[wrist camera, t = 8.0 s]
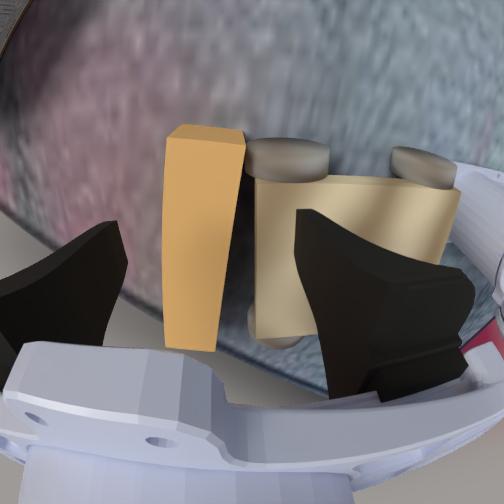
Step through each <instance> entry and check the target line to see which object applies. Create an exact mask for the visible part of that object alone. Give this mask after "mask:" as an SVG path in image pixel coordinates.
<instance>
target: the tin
mask: <svg viewBox="0 0 504 504" xmlns="http://www.w3.org/2000/svg"><path fill="white" fill-rule="evenodd" d="M31 2H32V0H0V59H1V57H2V55H3V52H4V50H5V48H6V46H7V44H8V42H9V40H10V38H11V36H12V34H13V33H14V31H15V29H16V27H17V25H18V23H19V22H20V20H21V18H22V17H23V15H24V13H25V12H26V10H27V8H28V7H29V5H30V4H31Z"/></svg>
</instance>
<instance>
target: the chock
mask: <svg viewBox="0 0 504 504" xmlns="http://www.w3.org/2000/svg"><path fill="white" fill-rule="evenodd" d="M245 149H246V144H245V139H244V135H243V131H241V130H234V129H226V128H217V127H208V126H198V125H187V124H181V125H180V126H179V127H178V128H177V129H176V130H175V131H174V132H172V133H171V134H170V135H169V136H168V137H167V144H166V156H165V171H164V189H163V216H162V286H163V313H164V331H165V345H166V347H170V348H179V349H188V350H199V351H210V352H215V347H216V340H217V332H218V325H219V317H220V310H221V303H222V296H223V289H224V282H225V275H226V268H227V261H228V255H229V248H230V241H231V235H232V228H233V222H234V216H235V209H236V203H237V197H238V191H239V184H240V178H241V172H242V166H243V160H244V155H245Z"/></svg>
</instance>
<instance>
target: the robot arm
mask: <svg viewBox="0 0 504 504" xmlns="http://www.w3.org/2000/svg"><path fill="white" fill-rule="evenodd" d="M451 162H453V163H455V164H456V165H457V167H458V168H457V173H456V178H455V182H454V187H455V188H457V189H458V190H460V191H461V196H460V200H459V203H458V207H457V211H456V214H455V217H454V221H453V224H452V227H451V231H450V234H449V237H448V240H447V243H454V244H455V245H456V246H457V247H458V248H459V249H460V250H461V251H462V252H463V254H464V255H465V256H466V257H467V258H468V259H469V260H470V261H471V262H472V263H473V264H474V265H475V266H476V267H477V268H478V269H479V271H480V272H481V273H482V274H483V275H484V276H485V277H486V278H487V280H488V281H489V282H490V283H491V284H492V285H493V286H494V288H495V290H494V292H493V294H492V297H493V299H494V300H495V301H496V302H497V304H498V306H497V308H496V312H495V317H496V321H497V325H498V329H499V332H500V334H501V336H502V338H503V339H504V173H503V172H501V171H497V170H493V169H489V168H484V167H480V166H475V165H470V164H465V163H460V162H455V161H451ZM294 258H295V263H296V267H297V272H298V275H299V278H300V281H301V283H302V286H303V289H304V292H305V294H306V297H307V300H308V302H309V305H310V308H311V311H312V313H313V316H314V320H315V323H316V327H317V331H318V336H319V341H320V345H321V350H322V356H323V361H324V366H325V373H326V379H327V386H328V393H329V400H327V401H320V402H313V403H306V404H299V405H290V406H281V407H269V406H256V405H244V404H234V403H228V402H227V400H226V396H225V390H224V385H223V383H222V382H221V381H220V379H219V378H218V376H217V375H216V374H215V372H214V371H213V369H212V368H211V367H209V366H207V365H205V364H204V363H201V362H199V361H197V360H195V359H193V358H191V357H189V356H187V355H185V354H183V353H177V352H172V351H166V350H160V349H154V348H128V347H107V346H102V345H103V340H104V335H105V331H106V328H107V324H108V321H109V319H110V316H111V313H112V311H113V308H114V305H115V303H116V300H117V298H118V295H119V292H120V290H121V287H122V284H123V282H124V278H125V274H126V269H127V265H128V260H127V256H126V253H125V249H124V246H123V242H122V239H121V235H120V231H119V227H118V223H117V220H116V221H106V222H102V223H100V224H98V225H96V226H94V227H92V228H91V229H89V230H87V231H86V232H84V233H83V234H81V235H80V236H78V237H77V238H75V239H74V240H72V241H71V242H69V243H68V244H66V245H64V246H63V247H61V248H60V249H58V250H57V251H55V252H54V253H52V254H51V255H49V256H47V257H46V258H44V259H42V260H40V261H39V262H37V263H35V264H33V265H31V266H30V267H28V268H26V269H23V270H21V271H19V272H17V273H15V274H13V275H11V276H9V277H6V278H4V279H1V280H0V453H1V454H3V455H4V456H6V457H8V458H10V459H12V460H14V461H16V462H18V463H20V464H22V465H24V466H25V468H24V473H23V478H22V484H21V489H20V495H19V502H18V504H355V503H354V499H353V494H352V492H355V491H358V490H362V489H365V488H368V487H371V486H374V485H377V484H379V483H382V482H385V481H388V480H391V479H393V478H396V477H399V476H401V475H404V474H406V473H408V472H411V471H413V470H415V469H418V468H420V467H422V466H424V465H426V464H429V463H431V462H433V461H435V460H437V459H439V458H441V457H443V456H445V455H447V454H449V453H451V452H452V451H455V450H456V449H458V448H460V447H462V446H464V445H466V444H467V443H469V442H471V441H473V440H474V439H476V438H478V437H480V436H481V435H482V434H484V433H485V432H486V431H488V430H489V429H490V428H491V427H492V426H494V425H495V424H496V423H497V422H498V421H500V419H502V418H503V417H504V360H503V358H502V357H501V355H500V353H499V352H498V350H497V349H496V347H495V345H494V344H493V342H487V343H484V344H482V345H479V346H477V347H474V348H472V349H470V350H468V351H467V352H466V353H464V354H462V353H461V351H460V349H459V347H460V346H461V344H462V340H461V338H460V337H459V335H458V332H459V331H460V329H461V327H462V325H463V324H464V322H465V320H466V318H467V317H468V315H469V313H470V311H471V309H472V306H473V304H474V299H475V287H474V285H473V284H472V282H471V281H470V280H469V279H468V277H467V276H466V275H465V274H464V273H463V272H462V270H460V269H458V268H453V267H447V266H442V265H436V264H432V263H428V262H424V261H420V260H416V259H413V258H410V257H407V256H404V255H401V254H398V253H395V252H392V251H390V250H387V249H385V248H382V247H380V246H378V245H376V244H373V243H371V242H369V241H367V240H365V239H363V238H361V237H359V236H358V235H356V234H354V233H352V232H350V231H349V230H347V229H345V228H344V227H342V226H340V225H339V224H337V223H335V222H334V221H332V220H331V219H329V218H327V217H326V216H324V215H323V214H321V213H319V212H318V211H316V210H314V209H296V223H295V240H294Z"/></svg>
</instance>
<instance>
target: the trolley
mask: <svg viewBox="0 0 504 504" xmlns="http://www.w3.org/2000/svg"><path fill="white" fill-rule="evenodd" d="M329 157H330V148H329V147H327V146H326V145H324V144H321V143H318V142H314V141H309V140H304V139H295V138H263V139H257V140H252V141H249V142H247V143H246V149H245V172H246V173H247V174H249V175H250V176H252V177H255V301H254V302H253V303H252V304H251V306H250V307H249V309H248V313H247V319H248V332H249V335H250V336H251V338H252V339H253V340H254V341H255V342H256V343H258V344H259V345H261V346H263V347H266V348H270V349H286V348H290V347H292V346H294V345H296V344H297V343H299V342H300V341H301V340H302V339H303V337H304V335H314V334H318V331H317V327H316V323H315V320H314V316H313V313H312V311H311V308H310V305H309V302H308V300H307V297H306V294H305V292H304V289H303V286H302V283H301V281H300V278H299V275H298V272H297V267H296V263H295V258H294V240H295V223H296V209H314V210H316V211H318V212H319V213H321V214H323V215H324V216H326V217H327V218H329V219H331V220H332V221H334V222H335V223H337V224H339V225H340V226H342V227H344V228H345V229H347V230H349V231H350V232H352V233H354V234H356V235H358V236H359V237H361V238H363V239H365V240H367V241H369V242H371V243H373V244H376V245H378V246H380V247H382V248H385V249H387V250H390V251H392V252H395V253H398V254H401V255H404V256H407V257H410V258H413V259H416V260H420V261H424V262H428V263H432V264H436V265H439V262H440V260H441V257H442V254H443V251H444V249H445V246H446V243H447V240H448V237H449V234H450V231H451V227H452V224H453V221H454V217H455V214H456V211H457V207H458V203H459V200H460V196H461V191H460V190H458V189H457V188H455V187H454V182H455V178H456V173H457V168H458V167H457V165H456V164H455V163H453V162H451V161H450V160H448V159H446V158H443V157H441V156H439V155H436V154H433V153H430V152H427V151H423V150H419V149H415V148H409V147H393V150H392V157H391V164H390V170H391V171H392V172H393V173H394V174H395V175H397V176H399V177H401V178H403V179H397V178H383V177H366V176H343V175H328V169H329Z"/></svg>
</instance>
